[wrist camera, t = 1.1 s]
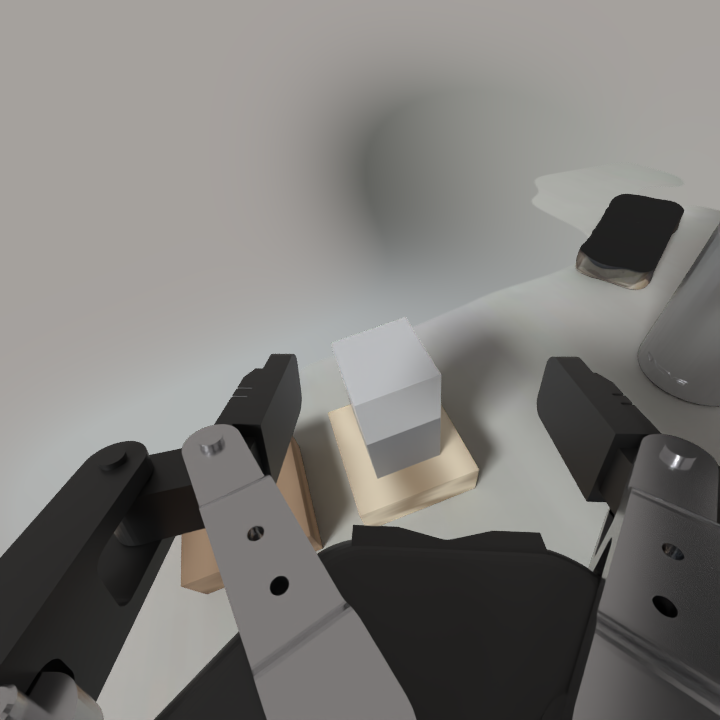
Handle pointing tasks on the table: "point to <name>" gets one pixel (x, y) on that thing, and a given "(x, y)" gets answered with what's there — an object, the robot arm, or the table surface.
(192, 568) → the walnut stand
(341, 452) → the birch stand
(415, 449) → the block
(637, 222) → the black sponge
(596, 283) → the table surface
